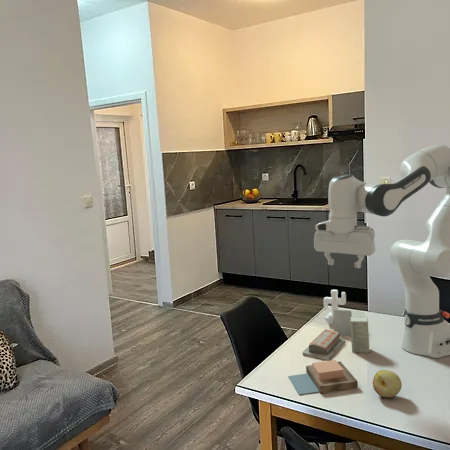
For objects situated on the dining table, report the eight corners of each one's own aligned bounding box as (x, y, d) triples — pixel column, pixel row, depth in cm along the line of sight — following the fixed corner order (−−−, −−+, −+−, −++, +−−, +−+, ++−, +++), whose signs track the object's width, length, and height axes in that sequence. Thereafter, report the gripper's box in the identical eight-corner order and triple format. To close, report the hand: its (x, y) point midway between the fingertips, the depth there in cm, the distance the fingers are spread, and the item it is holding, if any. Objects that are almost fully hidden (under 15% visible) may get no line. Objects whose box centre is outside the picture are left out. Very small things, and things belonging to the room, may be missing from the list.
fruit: (368, 392, 138) (367, 368, 136) (392, 387, 139) (392, 363, 138) (382, 405, 130) (381, 379, 129) (407, 400, 132) (407, 374, 131)
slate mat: (310, 373, 152) (310, 373, 152) (322, 391, 140) (322, 390, 140) (288, 376, 151) (288, 376, 151) (299, 395, 139) (298, 394, 139)
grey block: (351, 336, 179) (350, 312, 178) (334, 335, 181) (333, 311, 180) (352, 332, 183) (351, 309, 181) (335, 331, 185) (334, 308, 183)
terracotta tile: (335, 367, 150) (335, 359, 150) (343, 377, 143) (343, 369, 143) (312, 370, 149) (311, 363, 149) (319, 380, 142) (319, 372, 142)
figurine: (327, 319, 198) (325, 286, 196) (348, 322, 194) (347, 288, 191) (322, 325, 192) (320, 291, 190) (344, 328, 188) (343, 293, 185)
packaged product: (320, 326, 180) (345, 330, 174) (321, 338, 181) (345, 342, 175) (301, 343, 165) (327, 348, 160) (302, 356, 166) (328, 361, 160)
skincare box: (369, 348, 168) (368, 316, 166) (369, 353, 163) (368, 321, 161) (351, 347, 169) (350, 316, 167) (351, 352, 165) (350, 320, 163)
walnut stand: (340, 368, 154) (340, 361, 154) (357, 388, 140) (357, 381, 140) (306, 372, 153) (306, 365, 152) (320, 393, 139) (320, 386, 139)
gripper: (378, 224, 144) (378, 267, 146) (319, 222, 157) (321, 261, 159) (370, 228, 139) (371, 271, 141) (310, 225, 152) (312, 265, 154)
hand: (344, 266), depth 150 cm, fingers open, 8 cm apart
